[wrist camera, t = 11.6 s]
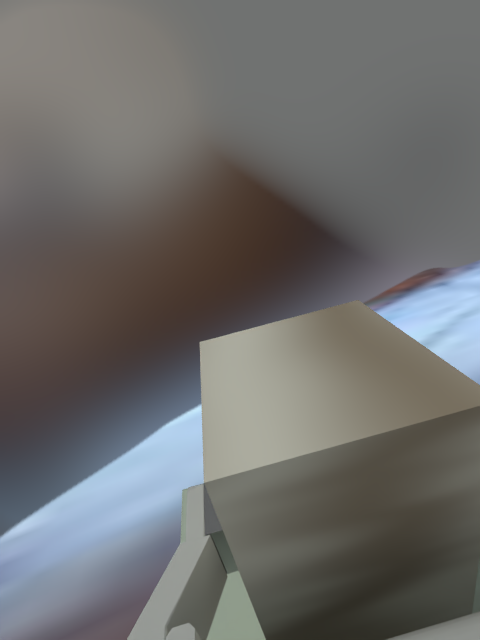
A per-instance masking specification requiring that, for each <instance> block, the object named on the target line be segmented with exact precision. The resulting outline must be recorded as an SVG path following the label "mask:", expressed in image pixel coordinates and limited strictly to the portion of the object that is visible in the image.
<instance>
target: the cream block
mask: <svg viewBox="0 0 480 640" xmlns="http://www.w3.org/2000/svg"><path fill="white" fill-rule="evenodd" d="M200 366H201V399H202V432H203V464H204V484H205V486H206V489H207V491H208V494H209V497H210V499H211V502H212V504H213V507H214V509H215V512H216V514H217V517H218V519H219V522H220V524H221V527H222V530H223V532H224V535H225V537H226V540H227V542H228V545H229V547H230V550H231V552H232V555H233V557H234V560H235V563H236V565H237V568H238V570H239V573H240V575H241V578H242V580H243V583H244V585H245V588H246V590H247V593H248V596H249V598H250V601H251V603H252V606H253V608H254V611H255V613H256V616H257V618H258V621H259V623H260V626H261V629H262V631H263V634H264V636H265V639H266V640H385V639H389V638H392V637H395V636H399V635H402V634H405V633H409V632H412V631H415V630H419V629H422V628H425V627H429V626H432V625H436V624H439V623H442V622H446V621H449V620H452V619H456V618H459V617H462V616H466V615H469V614H472V610H473V603H474V595H475V588H476V580H477V573H478V565H479V558H480V385H479V384H477V383H476V382H474V381H473V380H471V379H470V378H469V377H467V376H466V375H464V374H463V373H461V372H460V371H459V370H457V369H456V368H454V367H453V366H451V365H450V364H449V363H447V362H446V361H444V360H443V359H441V358H440V357H439V356H437V355H436V354H434V353H433V352H431V351H430V350H429V349H427V348H426V347H424V346H423V345H421V344H420V343H419V342H417V341H416V340H414V339H413V338H411V337H410V336H409V335H407V334H406V333H404V332H403V331H401V330H400V329H399V328H397V327H396V326H394V325H393V324H391V323H390V322H389V321H387V320H386V319H384V318H383V317H381V316H380V315H379V314H377V313H376V312H374V311H373V310H371V309H370V308H369V307H367V306H366V305H364V304H363V303H361V302H360V301H359V300H356V301H353V302H349V303H345V304H342V305H338V306H334V307H330V308H327V309H323V310H319V311H315V312H312V313H308V314H304V315H300V316H296V317H293V318H289V319H285V320H282V321H278V322H274V323H270V324H267V325H263V326H259V327H255V328H251V329H248V330H244V331H240V332H236V333H233V334H229V335H225V336H221V337H218V338H214V339H210V340H206V341H202V342H200Z"/></svg>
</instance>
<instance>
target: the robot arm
mask: <svg viewBox="0 0 480 640" xmlns="http://www.w3.org/2000/svg"><path fill="white" fill-rule="evenodd" d="M236 571H239V570H238V568H237V565H236V563H235V560H234V557H233V555H232V552H231V550H230V547H229V545H228V542H227V540H226V537H225V535H224V532H223V530H222V527H221V524H220V522H219V519H218V517H217V514H216V512H215V509H214V507H213V504H212V502H211V499H210V497H209V494H208V491H207V489H206V486H205V484H204V483H203V484H200V485H196V486H192V487H188V491H187V508H186V542H183V543H180V545H179V547H178V549H177V551H176V552H175V554H174V556H173V558H172V560H171V561H170V563H169V565H168V567H167V569H166V570H165V572H164V574H163V576H162V578H161V579H160V581H159V583H158V585H157V587H156V588H155V590H154V592H153V594H152V596H151V597H150V599H149V601H148V603H147V605H146V606H145V608H144V610H143V612H142V613H141V615H140V617H139V619H138V621H137V622H136V624H135V626H134V628H133V630H132V631H131V633H130V635H129V637H128V639H127V640H206V639H207V637H208V634H209V631H210V628H211V625H212V622H213V619H214V616H215V613H216V610H217V607H218V604H219V601H220V598H221V595H222V592H223V589H224V586H225V583H226V580H227V577H228V576H227V574H230V573H233V572H236ZM385 640H480V611H479V612H476V613H472V614H469V615H466V616H462V617H459V618H456V619H452V620H449V621H446V622H442V623H439V624H436V625H432V626H429V627H425V628H422V629H419V630H415V631H412V632H409V633H405V634H402V635H399V636H395V637H392V638H389V639H385Z"/></svg>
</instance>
